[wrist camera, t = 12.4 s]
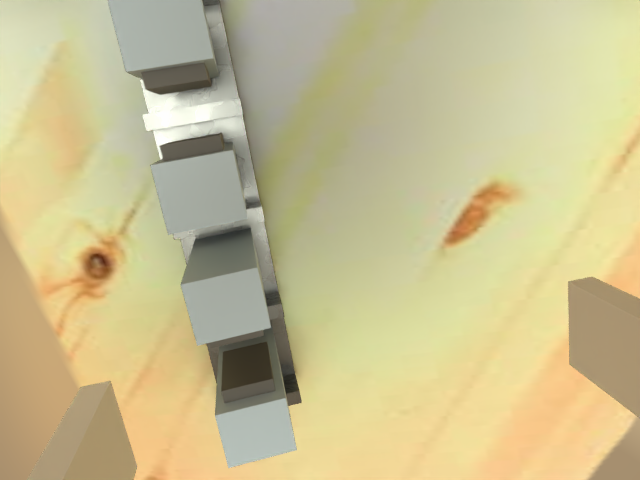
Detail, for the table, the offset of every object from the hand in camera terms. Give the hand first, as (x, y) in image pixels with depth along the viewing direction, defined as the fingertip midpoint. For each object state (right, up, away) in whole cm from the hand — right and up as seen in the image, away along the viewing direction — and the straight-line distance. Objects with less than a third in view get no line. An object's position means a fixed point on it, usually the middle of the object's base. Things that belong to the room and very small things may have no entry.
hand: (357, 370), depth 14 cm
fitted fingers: (-8, +5, +21) cm, 23 cm away
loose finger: (-8, +2, +22) cm, 23 cm away
